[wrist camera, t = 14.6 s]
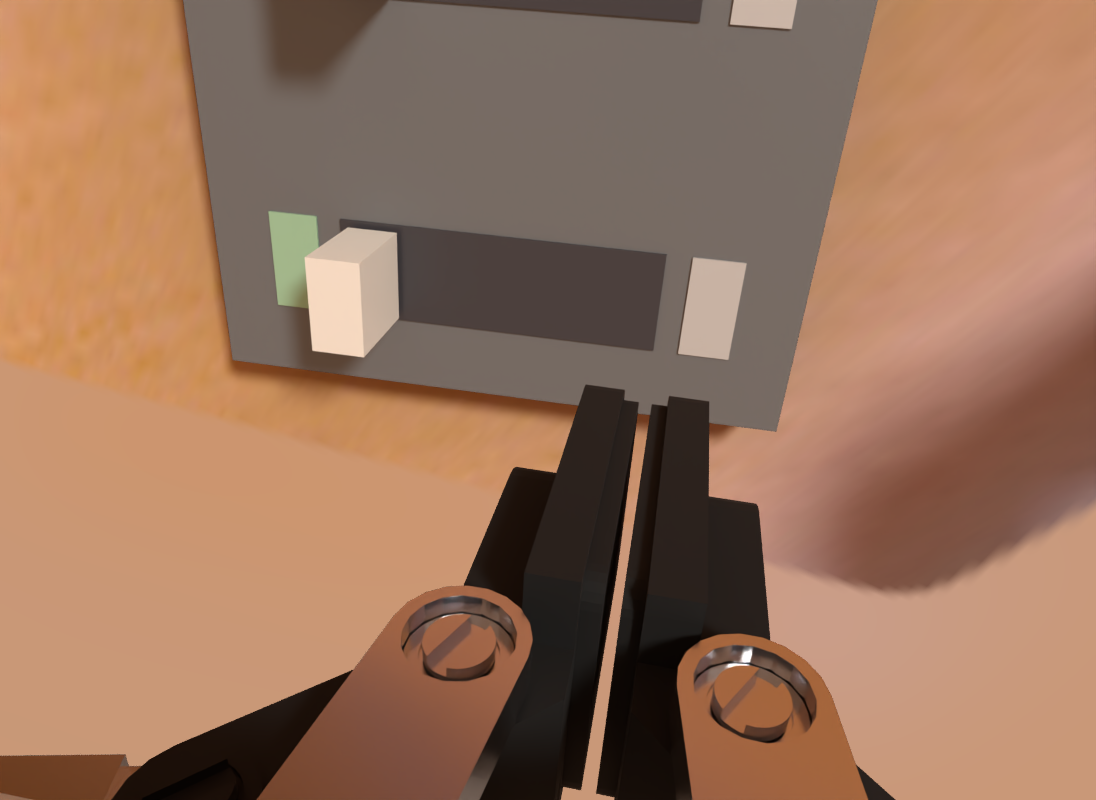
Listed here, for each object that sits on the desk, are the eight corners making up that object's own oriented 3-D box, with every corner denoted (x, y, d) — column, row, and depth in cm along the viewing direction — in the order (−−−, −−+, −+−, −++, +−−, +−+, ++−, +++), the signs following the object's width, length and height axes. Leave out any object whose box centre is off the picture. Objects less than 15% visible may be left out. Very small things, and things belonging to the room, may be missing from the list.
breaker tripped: (396, 232, 31) (359, 263, 27) (398, 317, 32) (363, 357, 29) (347, 227, 31) (304, 257, 27) (352, 312, 32) (312, 350, 29)
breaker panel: (907, -212, 25) (934, -238, 22) (769, 398, 35) (776, 433, 32) (197, -244, 27) (144, -270, 25) (264, 334, 38) (231, 361, 35)
